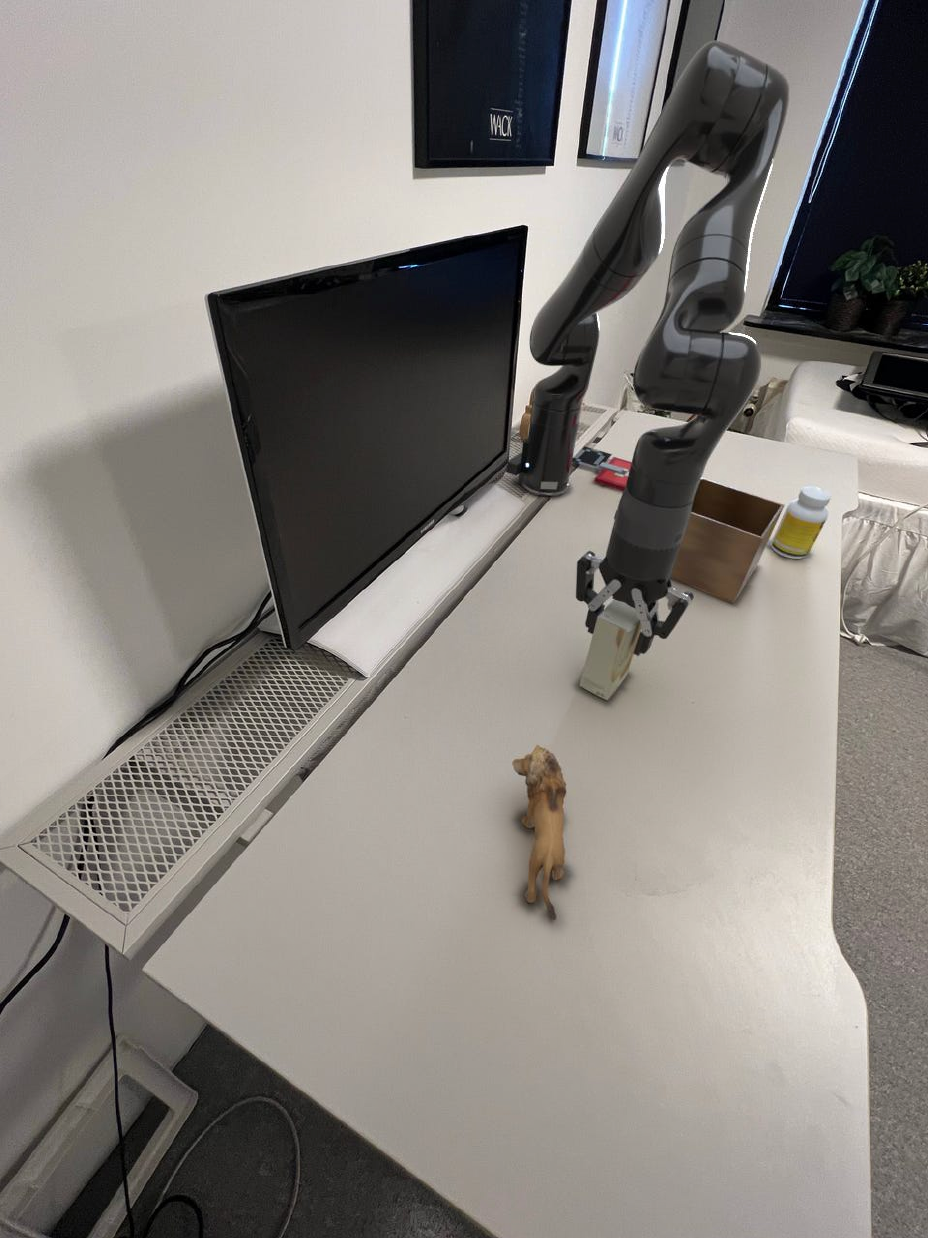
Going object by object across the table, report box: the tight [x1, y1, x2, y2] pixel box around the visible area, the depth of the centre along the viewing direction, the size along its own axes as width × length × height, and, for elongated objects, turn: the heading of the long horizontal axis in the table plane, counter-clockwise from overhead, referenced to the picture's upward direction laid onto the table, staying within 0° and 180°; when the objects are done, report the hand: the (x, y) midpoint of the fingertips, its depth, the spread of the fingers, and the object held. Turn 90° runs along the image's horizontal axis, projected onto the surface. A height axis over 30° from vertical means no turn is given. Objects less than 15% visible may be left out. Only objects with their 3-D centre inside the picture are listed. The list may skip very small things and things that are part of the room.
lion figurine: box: [511, 744, 567, 921], centre depth 59 cm, size 15×5×9 cm, turn 6°
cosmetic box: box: [579, 599, 642, 701], centre depth 77 cm, size 6×4×12 cm
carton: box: [670, 477, 786, 605], centre depth 98 cm, size 14×13×12 cm
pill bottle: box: [770, 485, 832, 560], centre depth 104 cm, size 6×6×12 cm
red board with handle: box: [572, 445, 632, 492], centre depth 124 cm, size 30×3×15 cm
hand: (615, 640), depth 76 cm, fingers open, 5 cm apart
